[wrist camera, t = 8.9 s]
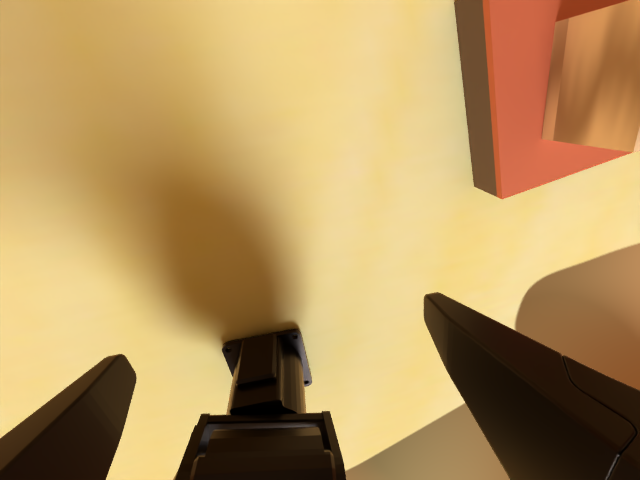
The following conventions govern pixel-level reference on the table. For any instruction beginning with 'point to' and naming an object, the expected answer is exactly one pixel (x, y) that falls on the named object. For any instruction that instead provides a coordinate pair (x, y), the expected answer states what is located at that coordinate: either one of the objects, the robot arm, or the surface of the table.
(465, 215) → the table surface
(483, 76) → the red square block
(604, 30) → the masu
